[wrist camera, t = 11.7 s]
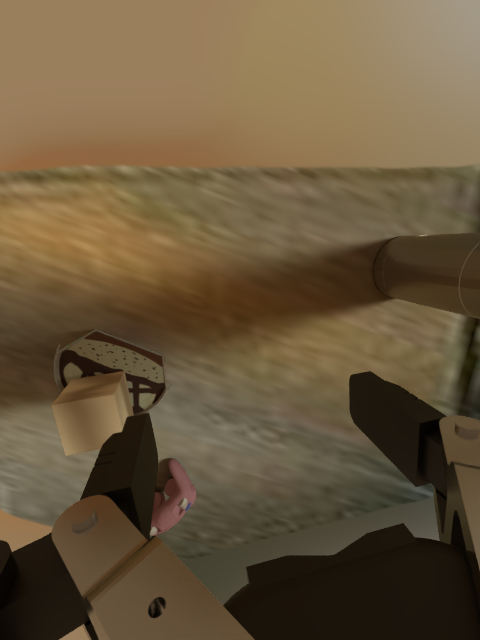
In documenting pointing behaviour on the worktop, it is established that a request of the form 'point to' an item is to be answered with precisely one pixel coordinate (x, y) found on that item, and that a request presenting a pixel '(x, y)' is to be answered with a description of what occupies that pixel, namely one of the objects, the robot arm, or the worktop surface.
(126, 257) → the worktop surface
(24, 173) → the worktop surface
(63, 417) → the birch cube
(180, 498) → the pink toy figure
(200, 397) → the worktop surface
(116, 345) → the food container
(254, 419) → the worktop surface
